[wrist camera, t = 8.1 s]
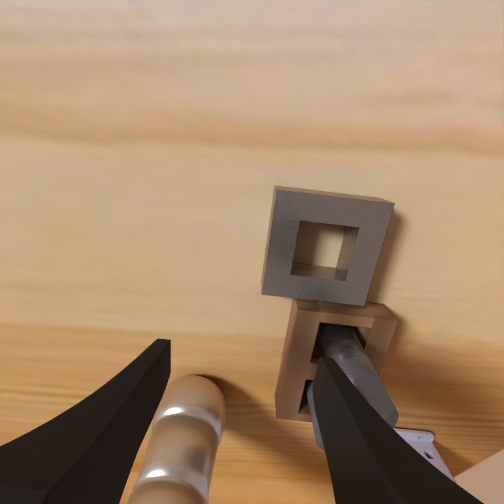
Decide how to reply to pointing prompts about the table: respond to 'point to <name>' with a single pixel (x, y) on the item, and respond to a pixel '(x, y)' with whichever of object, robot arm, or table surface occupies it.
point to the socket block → (352, 251)
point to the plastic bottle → (182, 444)
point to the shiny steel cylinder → (356, 367)
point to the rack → (308, 355)
